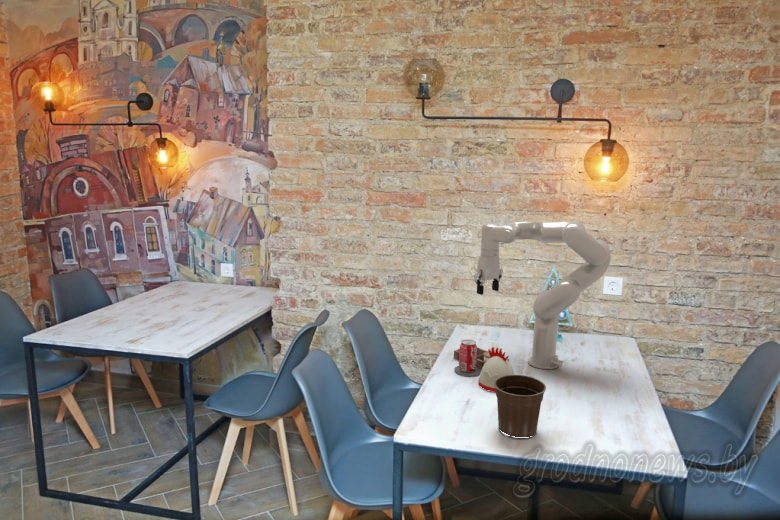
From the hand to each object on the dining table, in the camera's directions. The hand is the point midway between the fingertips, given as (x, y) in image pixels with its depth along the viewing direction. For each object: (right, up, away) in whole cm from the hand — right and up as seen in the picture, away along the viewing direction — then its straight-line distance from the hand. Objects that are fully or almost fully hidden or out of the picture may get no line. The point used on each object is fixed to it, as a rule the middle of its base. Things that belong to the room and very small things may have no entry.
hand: (487, 292), depth 256 cm
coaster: (-10, -31, -12) cm, 35 cm away
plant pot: (0, -42, -60) cm, 73 cm away
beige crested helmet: (0, -35, -25) cm, 42 cm away
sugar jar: (0, -30, -6) cm, 31 cm away
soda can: (-10, -31, -12) cm, 35 cm away
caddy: (-3, -30, -3) cm, 30 cm away
